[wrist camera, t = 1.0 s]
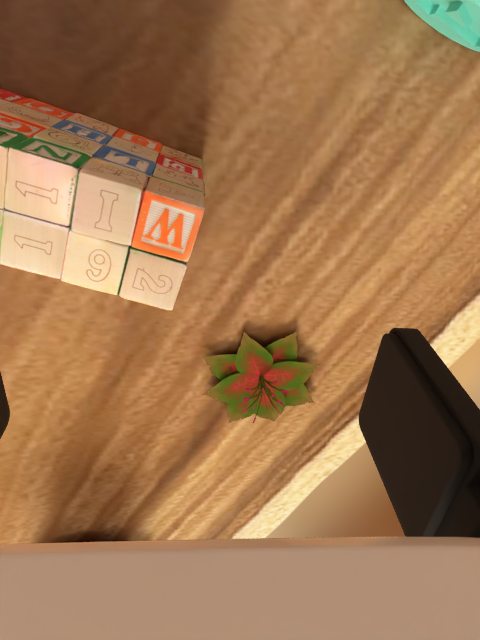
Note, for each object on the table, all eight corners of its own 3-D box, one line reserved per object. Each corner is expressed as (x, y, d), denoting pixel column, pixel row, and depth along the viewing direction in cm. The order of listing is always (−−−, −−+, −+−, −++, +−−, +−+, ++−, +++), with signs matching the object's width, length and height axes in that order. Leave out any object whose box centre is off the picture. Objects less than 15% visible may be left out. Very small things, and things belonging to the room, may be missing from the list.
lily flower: (329, 404, 46) (341, 437, 42) (218, 432, 47) (220, 467, 43) (308, 308, 40) (320, 337, 36) (181, 343, 41) (178, 374, 37)
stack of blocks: (-123, 141, 30) (-294, 191, 20) (-127, 39, 27) (-332, 34, 17) (181, 235, 35) (173, 315, 25) (205, 158, 32) (207, 211, 22)
